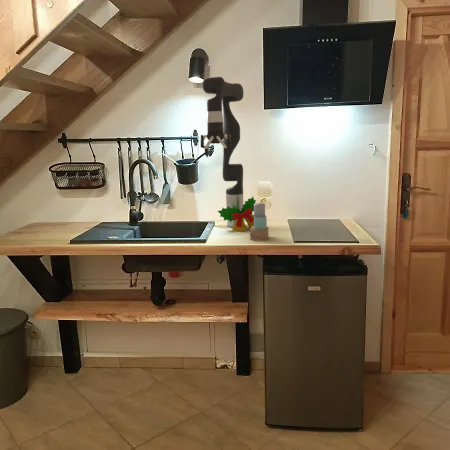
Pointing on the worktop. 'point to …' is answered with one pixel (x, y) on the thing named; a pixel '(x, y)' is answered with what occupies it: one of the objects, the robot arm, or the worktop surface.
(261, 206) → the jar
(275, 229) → the worktop surface
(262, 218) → the cube
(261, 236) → the plinth
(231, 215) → the ornament
